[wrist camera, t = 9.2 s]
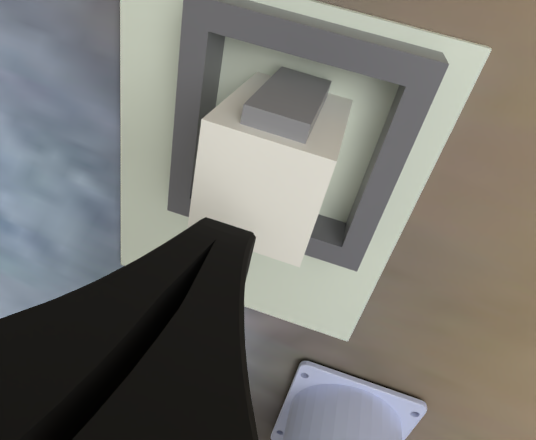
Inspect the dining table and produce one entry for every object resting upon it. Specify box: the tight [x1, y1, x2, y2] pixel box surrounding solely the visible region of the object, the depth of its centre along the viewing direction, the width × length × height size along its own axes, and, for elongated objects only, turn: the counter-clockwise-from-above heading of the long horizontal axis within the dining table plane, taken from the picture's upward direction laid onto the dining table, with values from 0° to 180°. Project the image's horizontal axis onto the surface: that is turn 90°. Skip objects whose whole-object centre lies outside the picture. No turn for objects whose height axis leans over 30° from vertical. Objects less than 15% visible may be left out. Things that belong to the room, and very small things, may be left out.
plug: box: [187, 66, 353, 267], centre depth 15 cm, size 5×4×6 cm
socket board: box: [120, 0, 492, 342], centre depth 19 cm, size 16×14×2 cm
